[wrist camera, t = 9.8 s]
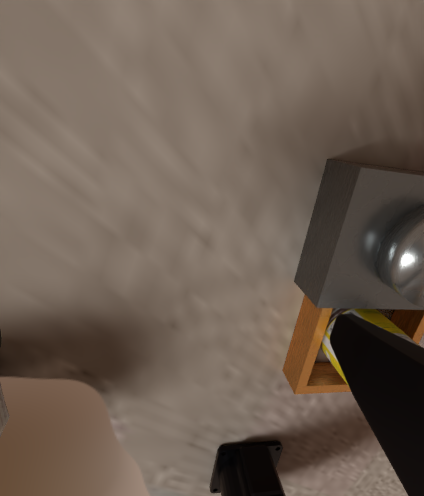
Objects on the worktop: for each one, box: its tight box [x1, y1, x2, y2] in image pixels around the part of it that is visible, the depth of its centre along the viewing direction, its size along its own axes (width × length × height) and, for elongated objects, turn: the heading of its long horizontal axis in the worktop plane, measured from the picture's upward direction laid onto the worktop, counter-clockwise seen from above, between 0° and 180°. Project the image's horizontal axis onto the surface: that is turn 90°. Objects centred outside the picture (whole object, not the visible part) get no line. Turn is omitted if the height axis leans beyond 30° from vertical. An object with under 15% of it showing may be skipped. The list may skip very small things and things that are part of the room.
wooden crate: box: [283, 159, 424, 394], centre depth 22 cm, size 18×12×6 cm
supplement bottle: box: [320, 308, 421, 385], centre depth 21 cm, size 6×6×10 cm
